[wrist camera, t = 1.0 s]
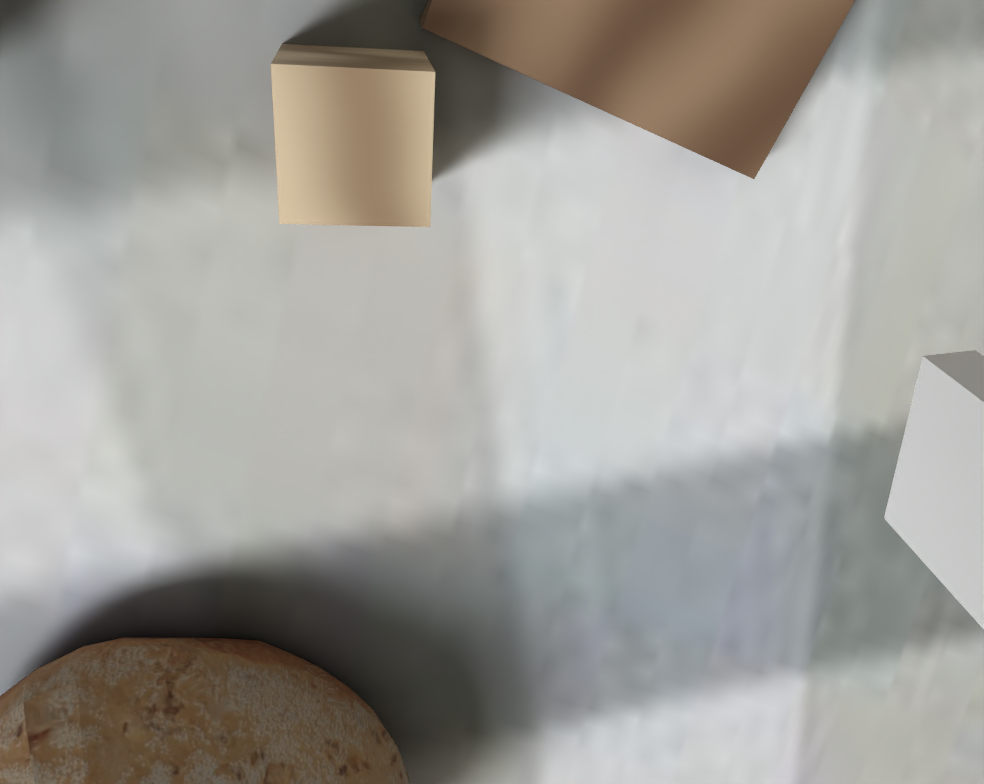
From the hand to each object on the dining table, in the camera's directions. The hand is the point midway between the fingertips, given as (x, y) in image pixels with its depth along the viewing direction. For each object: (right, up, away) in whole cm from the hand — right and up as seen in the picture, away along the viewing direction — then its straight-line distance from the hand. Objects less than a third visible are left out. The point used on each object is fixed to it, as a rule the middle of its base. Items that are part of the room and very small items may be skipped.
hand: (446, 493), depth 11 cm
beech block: (-5, +12, +20) cm, 24 cm away
